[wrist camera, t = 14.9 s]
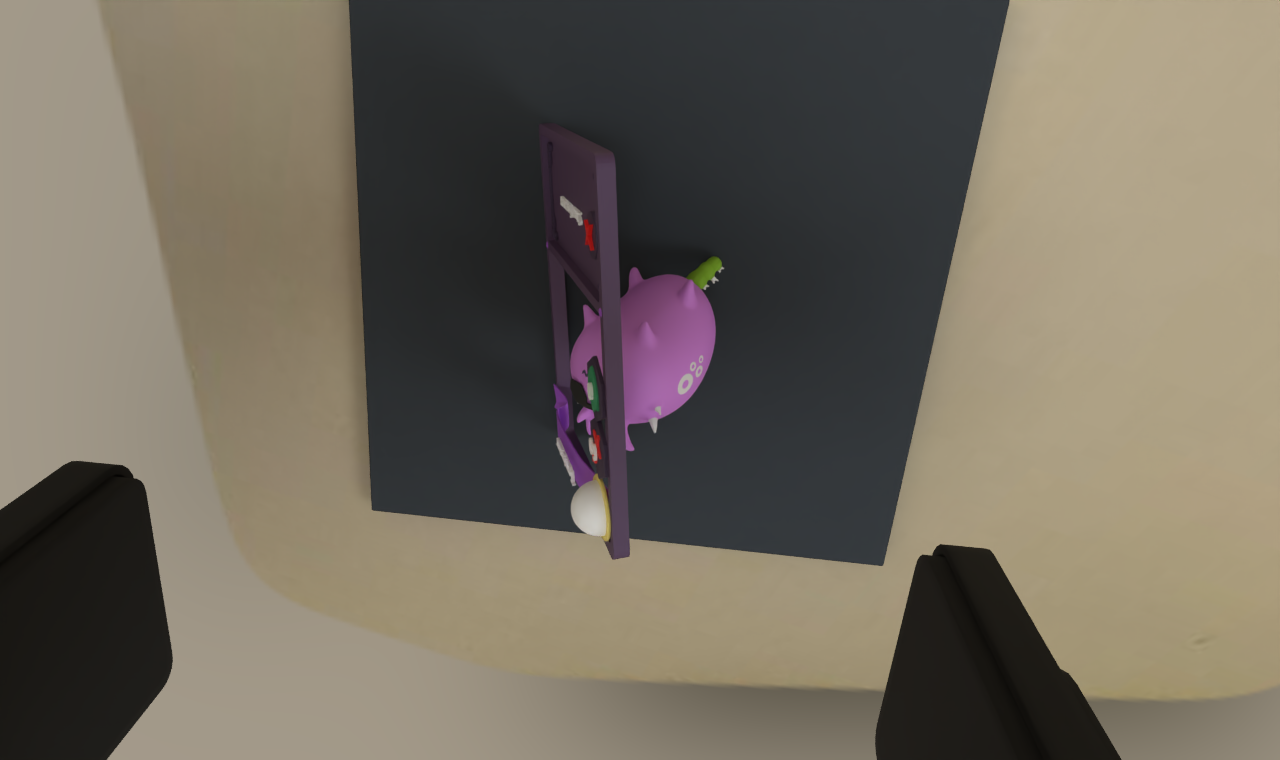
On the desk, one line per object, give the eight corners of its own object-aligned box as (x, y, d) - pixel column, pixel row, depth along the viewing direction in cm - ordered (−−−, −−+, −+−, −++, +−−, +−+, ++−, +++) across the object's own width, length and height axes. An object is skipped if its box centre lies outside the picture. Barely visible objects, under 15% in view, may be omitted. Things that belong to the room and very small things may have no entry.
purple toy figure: (555, 156, 16) (582, 569, 19) (815, 140, 17) (797, 531, 20) (508, 124, 22) (534, 442, 25) (702, 114, 23) (703, 419, 26)
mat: (376, 502, 27) (371, 510, 27) (353, -56, 21) (345, -58, 21) (880, 557, 27) (883, 567, 26) (1003, -1, 21) (1010, -2, 20)
